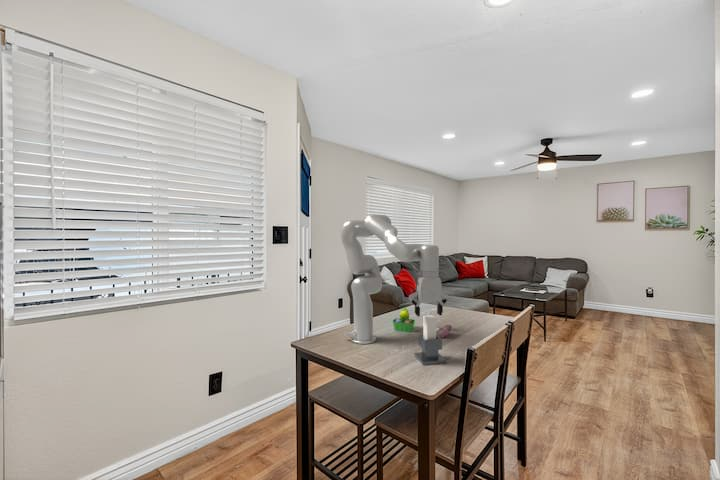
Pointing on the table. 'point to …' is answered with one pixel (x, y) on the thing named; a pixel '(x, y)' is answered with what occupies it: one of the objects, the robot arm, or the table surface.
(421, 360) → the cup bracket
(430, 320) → the rail post
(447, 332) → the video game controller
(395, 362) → the table surface
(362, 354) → the table surface
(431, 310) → the headphone stand
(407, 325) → the fruit basket
